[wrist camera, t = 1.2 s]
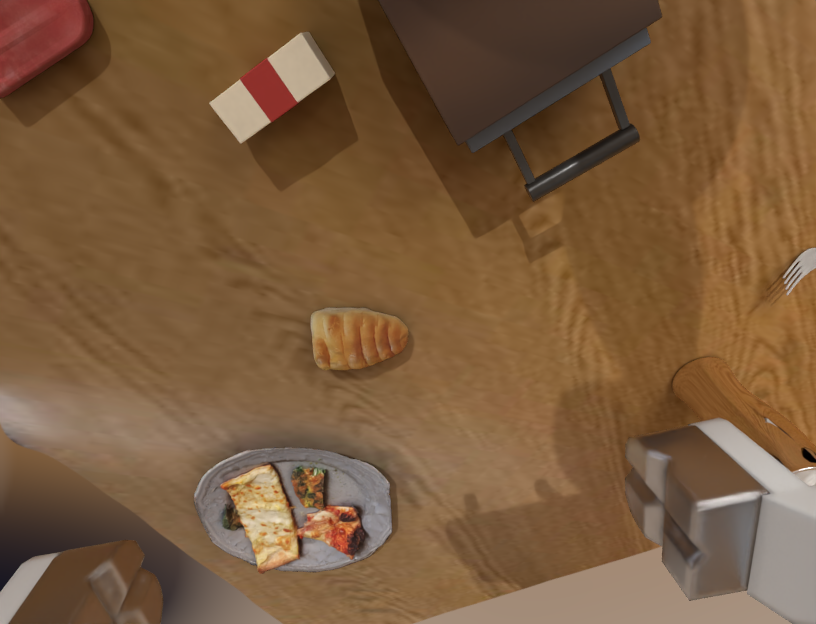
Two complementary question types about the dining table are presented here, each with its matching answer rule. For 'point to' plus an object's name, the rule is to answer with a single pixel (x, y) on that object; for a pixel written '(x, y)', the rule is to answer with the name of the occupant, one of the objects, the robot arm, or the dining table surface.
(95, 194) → the dining table surface
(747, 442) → the robot arm
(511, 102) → the cabinet
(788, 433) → the beer glass
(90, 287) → the dining table surface
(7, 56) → the popsicle
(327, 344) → the pastry
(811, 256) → the fork
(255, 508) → the food plate
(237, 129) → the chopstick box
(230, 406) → the dining table surface
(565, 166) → the drawer
